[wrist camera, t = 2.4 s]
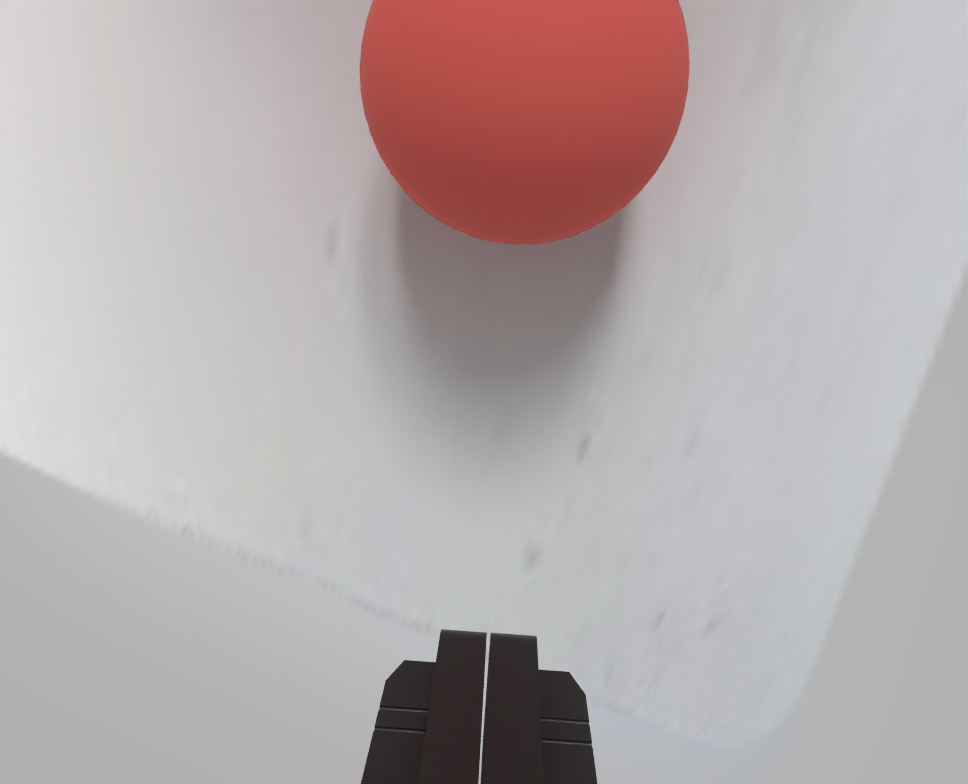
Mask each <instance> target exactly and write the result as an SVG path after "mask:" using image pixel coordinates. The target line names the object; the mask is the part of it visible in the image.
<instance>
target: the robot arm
mask: <svg viewBox="0 0 968 784" xmlns="http://www.w3.org/2000/svg"><path fill="white" fill-rule="evenodd" d="M486 636H487V633H484V632H470V631H456V630H442V629H441V633H440V639H439V646H438V653H437V659H436V662H422V661H408V660H404V661H403V663H402V664H401V665H400V666H399V667H398V668H397V669H396V670H395V671H394V672H393V673H392V674H391V676H390V677H389V678H388V679H387V680H386V682H385V686H384V691H383V695H382V698H381V703H380V710H379V711H378V715H377V719H376V724H375V730H374V732H373V736H372V740H371V744H370V748H369V753H368V757H367V761H366V765H365V770H364V773H363V777H362V782H361V784H478V777H479V760H480V742H481V724H482V706H483V688H484V671H485V653H486ZM484 720H485V721H484V735H483V752H482V772H481V784H597V778H596V771H595V763H594V756H593V748H592V740H591V733H590V726H589V718H588V711H587V702H586V695H585V694H584V692H583V691H582V689H581V688H580V687H579V685H578V684H577V682H576V681H575V680H574V678H573V677H572V675H571V674H570V673H569V672H562V671H548V670H538V654H537V637H536V636H528V635H514V634H500V633H491V635H490V649H489V663H488V677H487V691H486V706H485V719H484Z"/></svg>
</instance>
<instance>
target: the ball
mask: <svg viewBox="0 0 968 784" xmlns="http://www.w3.org/2000/svg"><path fill="white" fill-rule="evenodd" d="M688 78H689V49H688V38H687V32H686V27H685V22H684V17H683V14H682V11H681V8H680V4H679V1H678V0H373V3H372V6H371V9H370V12H369V15H368V18H367V21H366V26H365V31H364V36H363V41H362V46H361V59H360V83H361V95H362V101H363V107H364V112H365V116H366V120H367V123H368V126H369V130H370V133H371V136H372V138H373V140H374V143H375V145H376V147H377V150H378V152H379V154H380V156H381V158H382V159H383V161H384V163H385V164H386V166H387V168H388V169H389V171H390V173H391V174H392V176H393V177H394V178H395V179H396V181H397V182H398V183H399V185H400V186H401V187H402V188H403V190H404V191H405V192H406V193H407V194H408V195H409V196H410V197H411V198H412V199H413V200H414V201H415V202H416V203H417V204H418V205H419V206H421V207H422V208H423V209H424V210H426V211H427V212H428V213H430V214H431V215H432V216H434V217H435V218H436V219H438V220H440V221H442V222H443V223H445V224H447V225H449V226H450V227H452V228H454V229H456V230H459V231H461V232H463V233H466V234H468V235H471V236H474V237H477V238H481V239H485V240H488V241H493V242H500V243H508V244H536V243H543V242H551V241H555V240H559V239H563V238H566V237H570V236H573V235H576V234H578V233H580V232H583V231H585V230H588V229H590V228H592V227H594V226H596V225H597V224H599V223H601V222H603V221H604V220H606V219H608V218H609V217H611V216H612V215H613V214H615V213H616V212H617V211H619V210H620V209H621V208H623V207H624V206H625V205H627V204H628V203H629V202H630V201H631V200H632V199H633V198H634V197H635V196H636V195H637V194H638V193H639V192H640V191H641V190H642V189H643V188H644V186H645V185H646V184H647V183H648V181H649V180H650V179H651V178H652V176H653V175H654V174H655V173H656V171H657V169H658V168H659V166H660V164H661V163H662V161H663V160H664V158H665V156H666V155H667V153H668V151H669V149H670V146H671V144H672V142H673V140H674V138H675V135H676V133H677V130H678V127H679V124H680V121H681V118H682V115H683V111H684V106H685V101H686V96H687V90H688Z"/></svg>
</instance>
